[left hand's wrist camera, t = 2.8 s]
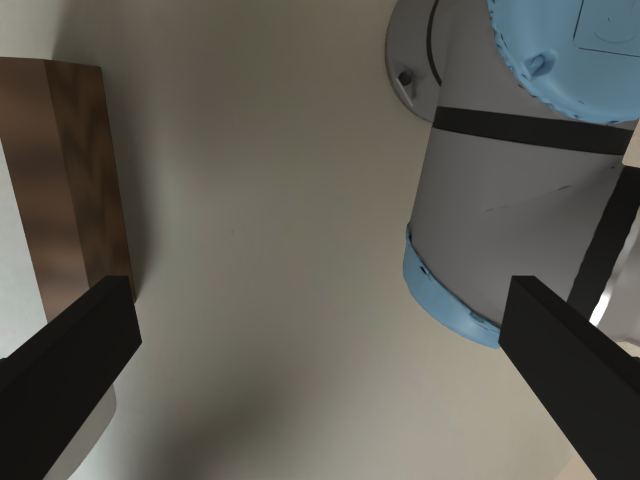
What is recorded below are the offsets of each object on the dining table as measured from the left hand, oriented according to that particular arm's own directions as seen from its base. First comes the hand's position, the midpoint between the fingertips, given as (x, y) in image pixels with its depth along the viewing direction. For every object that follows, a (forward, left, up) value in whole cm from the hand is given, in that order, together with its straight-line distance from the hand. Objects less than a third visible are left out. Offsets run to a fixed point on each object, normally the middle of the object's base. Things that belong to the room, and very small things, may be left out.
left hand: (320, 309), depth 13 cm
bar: (+11, -23, -31) cm, 40 cm away
